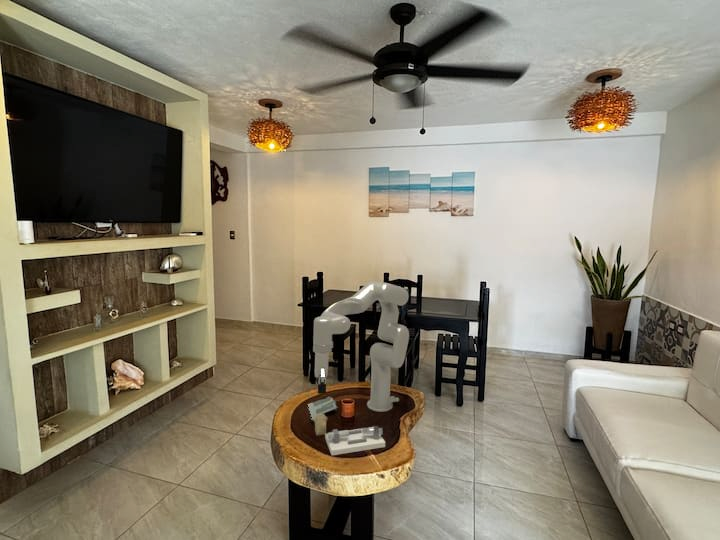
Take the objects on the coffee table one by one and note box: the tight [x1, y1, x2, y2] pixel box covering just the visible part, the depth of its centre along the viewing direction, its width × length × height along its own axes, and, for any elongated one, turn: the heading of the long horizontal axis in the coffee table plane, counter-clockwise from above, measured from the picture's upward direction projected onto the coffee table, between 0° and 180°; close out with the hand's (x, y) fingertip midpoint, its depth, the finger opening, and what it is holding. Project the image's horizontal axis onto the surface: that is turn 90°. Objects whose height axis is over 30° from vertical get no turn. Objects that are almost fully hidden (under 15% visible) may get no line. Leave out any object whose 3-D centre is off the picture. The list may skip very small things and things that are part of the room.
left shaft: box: [361, 425, 384, 439], centre depth 149 cm, size 8×4×4 cm, turn 92°
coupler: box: [313, 413, 328, 436], centre depth 155 cm, size 6×4×7 cm
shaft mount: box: [324, 426, 386, 456], centre depth 148 cm, size 22×12×6 cm, turn 107°
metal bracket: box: [307, 396, 338, 421], centre depth 174 cm, size 14×6×15 cm
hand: (321, 388), depth 149 cm, fingers open, 9 cm apart
